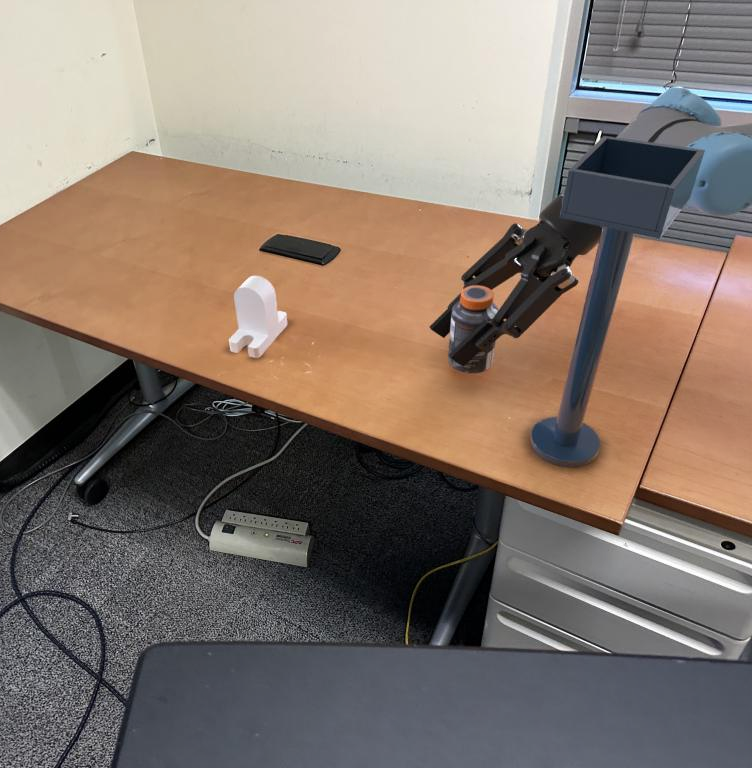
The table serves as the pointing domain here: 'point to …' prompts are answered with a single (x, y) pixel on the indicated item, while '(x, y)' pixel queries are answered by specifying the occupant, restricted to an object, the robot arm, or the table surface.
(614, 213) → the square tray stand
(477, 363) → the pill bottle
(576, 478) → the table surface
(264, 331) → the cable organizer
